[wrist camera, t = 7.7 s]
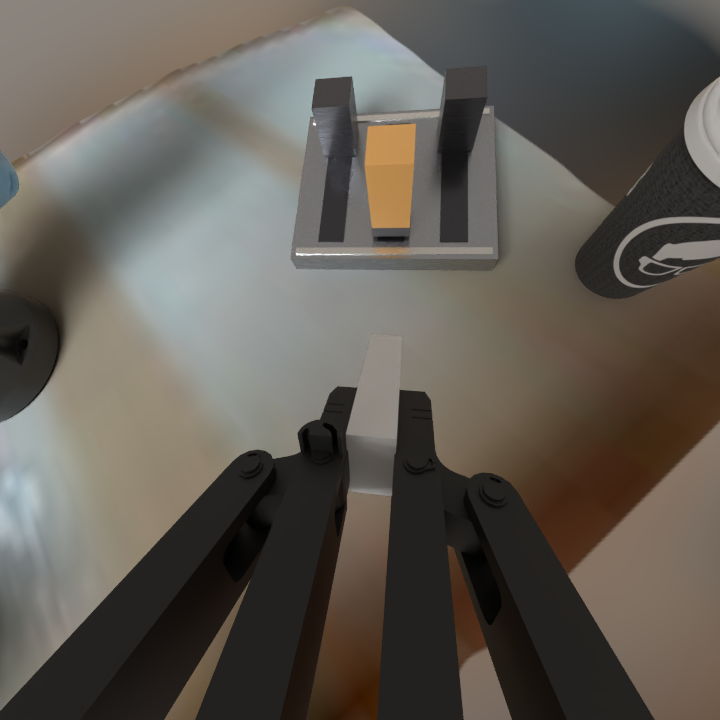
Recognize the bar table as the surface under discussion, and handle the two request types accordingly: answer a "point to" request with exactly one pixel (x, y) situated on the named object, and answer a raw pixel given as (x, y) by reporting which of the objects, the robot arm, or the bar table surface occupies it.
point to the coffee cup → (663, 213)
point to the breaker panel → (429, 191)
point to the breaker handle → (390, 178)
